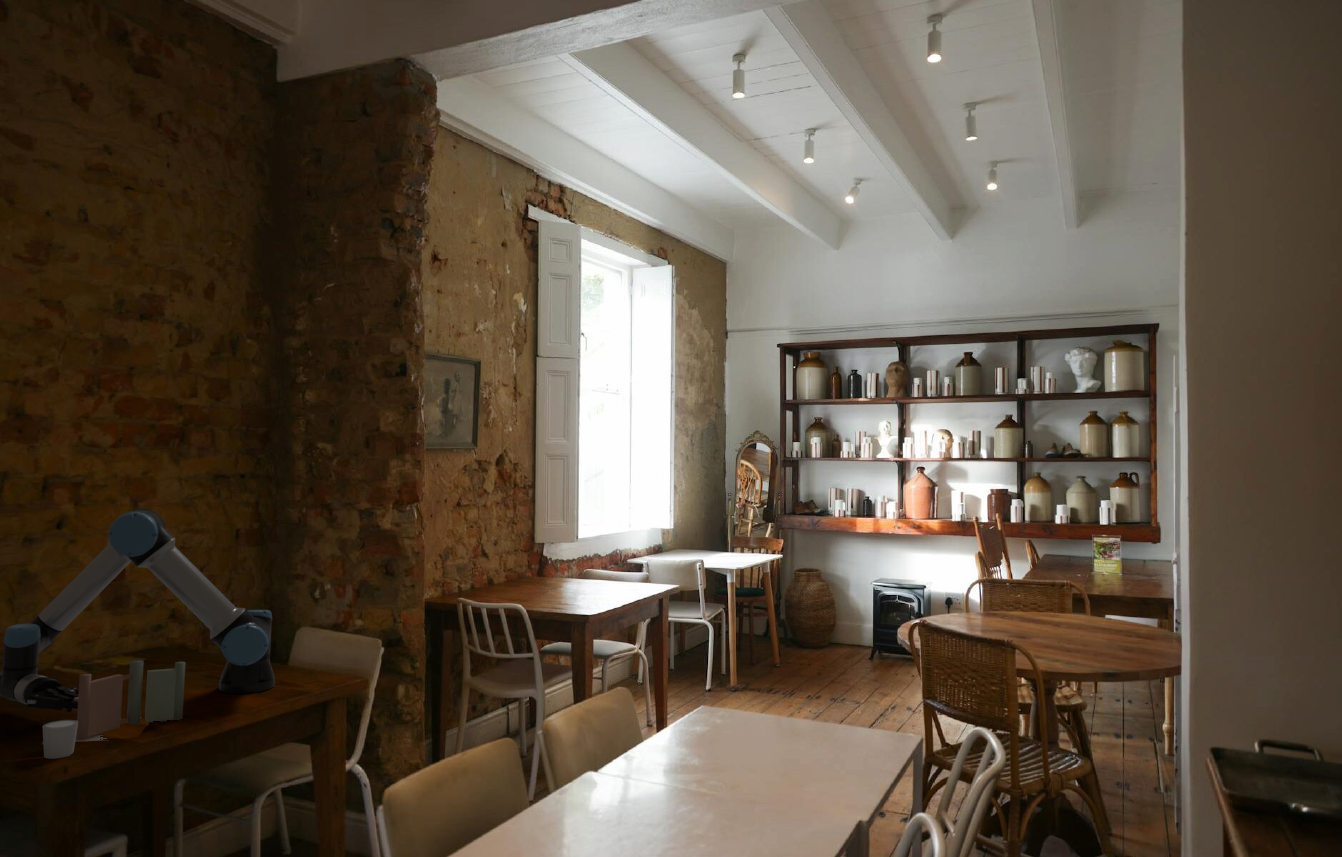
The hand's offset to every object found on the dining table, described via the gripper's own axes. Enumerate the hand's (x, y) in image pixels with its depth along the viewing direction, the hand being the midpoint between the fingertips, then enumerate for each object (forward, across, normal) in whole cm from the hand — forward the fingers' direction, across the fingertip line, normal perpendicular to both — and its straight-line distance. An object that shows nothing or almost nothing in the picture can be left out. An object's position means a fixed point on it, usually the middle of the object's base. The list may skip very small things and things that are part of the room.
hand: (91, 707), depth 216 cm
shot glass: (+8, +11, -7) cm, 15 cm away
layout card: (-2, -4, -7) cm, 8 cm away
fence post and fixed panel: (+2, -15, -7) cm, 17 cm away
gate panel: (+1, -3, -6) cm, 7 cm away
